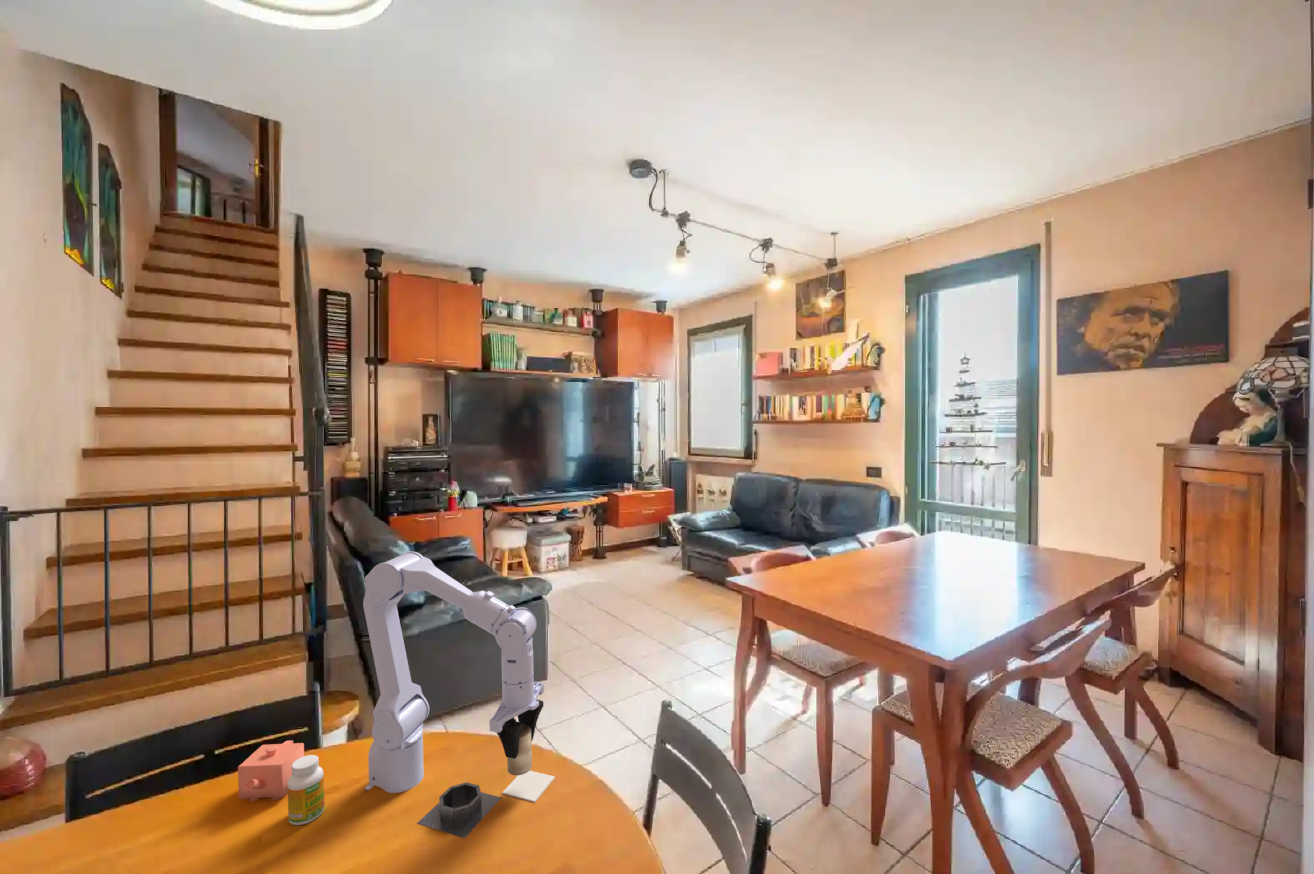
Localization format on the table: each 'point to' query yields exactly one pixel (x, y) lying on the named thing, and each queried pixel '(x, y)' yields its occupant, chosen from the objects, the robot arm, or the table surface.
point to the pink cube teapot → (268, 771)
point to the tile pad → (529, 786)
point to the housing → (459, 809)
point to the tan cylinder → (522, 754)
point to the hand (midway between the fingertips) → (519, 748)
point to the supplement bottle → (305, 790)
